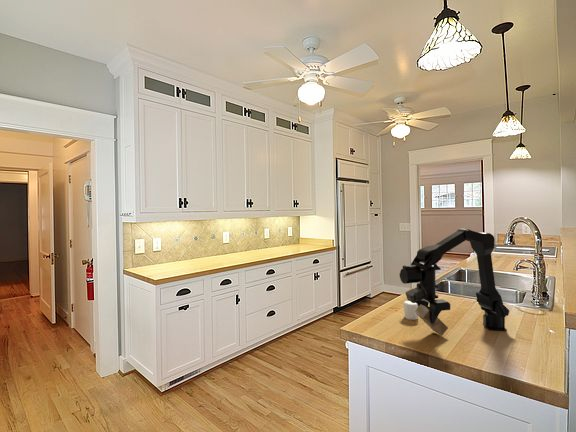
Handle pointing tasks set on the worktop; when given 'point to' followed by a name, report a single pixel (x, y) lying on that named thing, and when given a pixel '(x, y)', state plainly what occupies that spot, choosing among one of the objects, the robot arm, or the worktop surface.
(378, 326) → the worktop surface
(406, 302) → the white cylinder
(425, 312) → the walnut block
